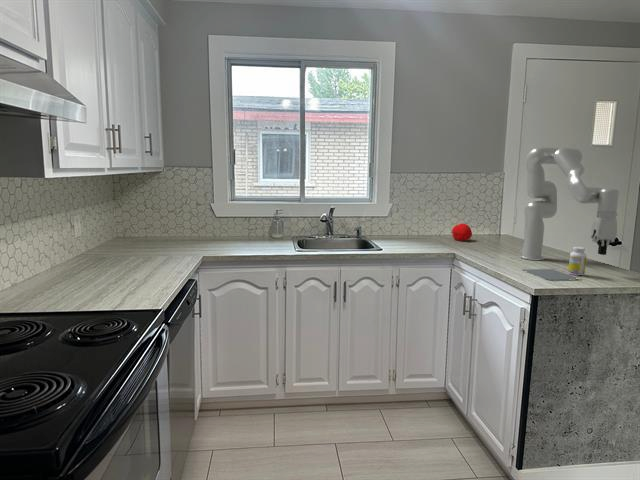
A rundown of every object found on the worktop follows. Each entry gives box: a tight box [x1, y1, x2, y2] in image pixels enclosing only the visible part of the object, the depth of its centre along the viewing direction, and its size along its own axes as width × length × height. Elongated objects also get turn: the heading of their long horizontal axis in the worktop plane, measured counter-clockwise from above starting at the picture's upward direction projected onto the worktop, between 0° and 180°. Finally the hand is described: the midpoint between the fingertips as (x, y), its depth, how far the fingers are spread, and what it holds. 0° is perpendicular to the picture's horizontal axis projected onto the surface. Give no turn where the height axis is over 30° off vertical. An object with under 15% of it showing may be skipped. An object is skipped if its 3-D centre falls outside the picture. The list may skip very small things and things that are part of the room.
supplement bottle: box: [567, 246, 587, 276], centre depth 206 cm, size 7×7×13 cm
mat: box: [522, 268, 578, 281], centre depth 205 cm, size 20×16×1 cm
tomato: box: [451, 223, 473, 242], centre depth 299 cm, size 13×13×13 cm
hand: (601, 254), depth 207 cm, fingers closed
